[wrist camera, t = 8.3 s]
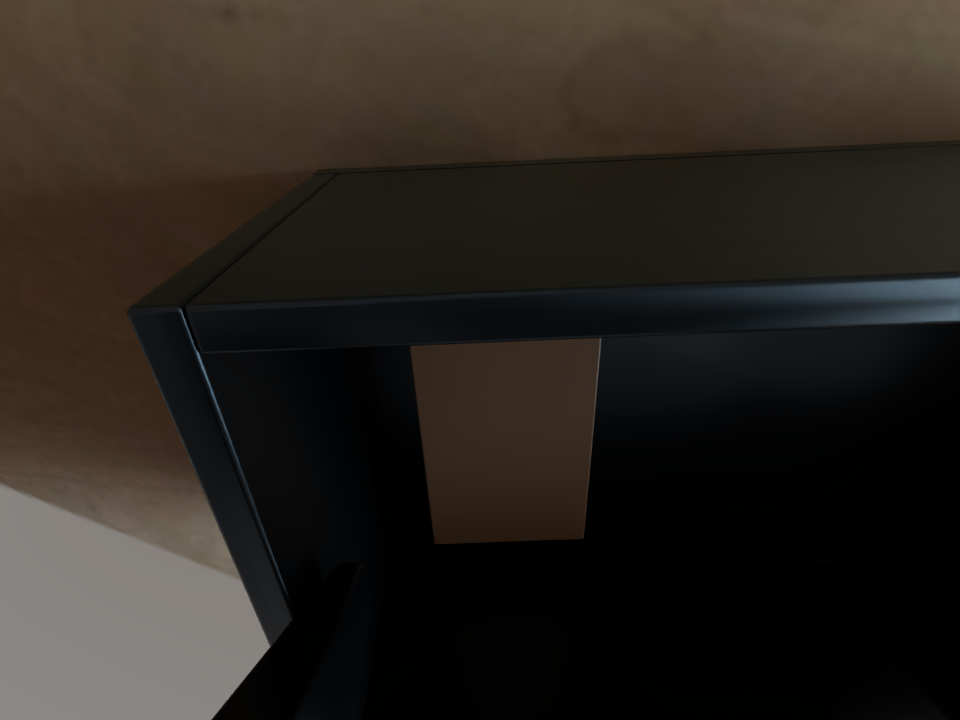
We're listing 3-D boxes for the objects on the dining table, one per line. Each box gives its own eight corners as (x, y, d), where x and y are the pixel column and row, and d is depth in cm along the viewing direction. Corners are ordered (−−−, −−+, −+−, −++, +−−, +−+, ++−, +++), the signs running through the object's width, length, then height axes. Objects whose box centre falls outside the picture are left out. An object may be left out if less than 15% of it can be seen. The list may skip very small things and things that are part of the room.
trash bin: (384, 514, 17) (329, 789, 11) (317, 169, 12) (121, 308, 5) (1014, 491, 17) (1348, 758, 11) (1259, 126, 12) (2293, 216, 5)
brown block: (569, 473, 16) (584, 539, 14) (439, 478, 16) (433, 545, 14) (582, 254, 12) (605, 295, 10) (415, 261, 12) (402, 304, 10)
